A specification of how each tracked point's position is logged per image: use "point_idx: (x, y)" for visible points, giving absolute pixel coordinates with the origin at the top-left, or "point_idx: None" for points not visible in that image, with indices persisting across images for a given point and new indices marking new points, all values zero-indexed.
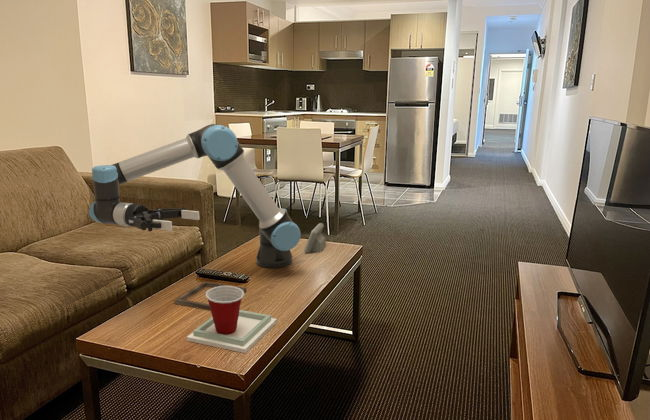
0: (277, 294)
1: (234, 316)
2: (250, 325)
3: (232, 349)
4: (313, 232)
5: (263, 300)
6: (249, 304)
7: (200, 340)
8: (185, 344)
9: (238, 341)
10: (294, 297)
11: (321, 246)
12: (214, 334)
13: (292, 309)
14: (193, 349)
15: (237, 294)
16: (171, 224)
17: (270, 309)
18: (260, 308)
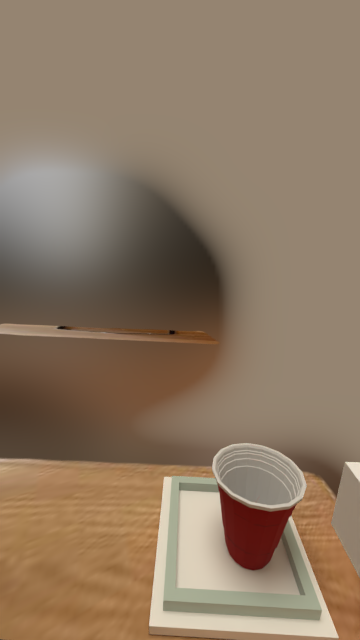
0: (20, 531)
1: (254, 487)
2: (206, 508)
3: None
4: None
5: (57, 550)
6: (83, 578)
7: (317, 585)
8: (350, 636)
9: None
10: (45, 490)
11: None
12: (294, 541)
13: (106, 476)
14: (344, 594)
15: (219, 472)
16: (345, 483)
17: (110, 514)
18: (107, 537)
